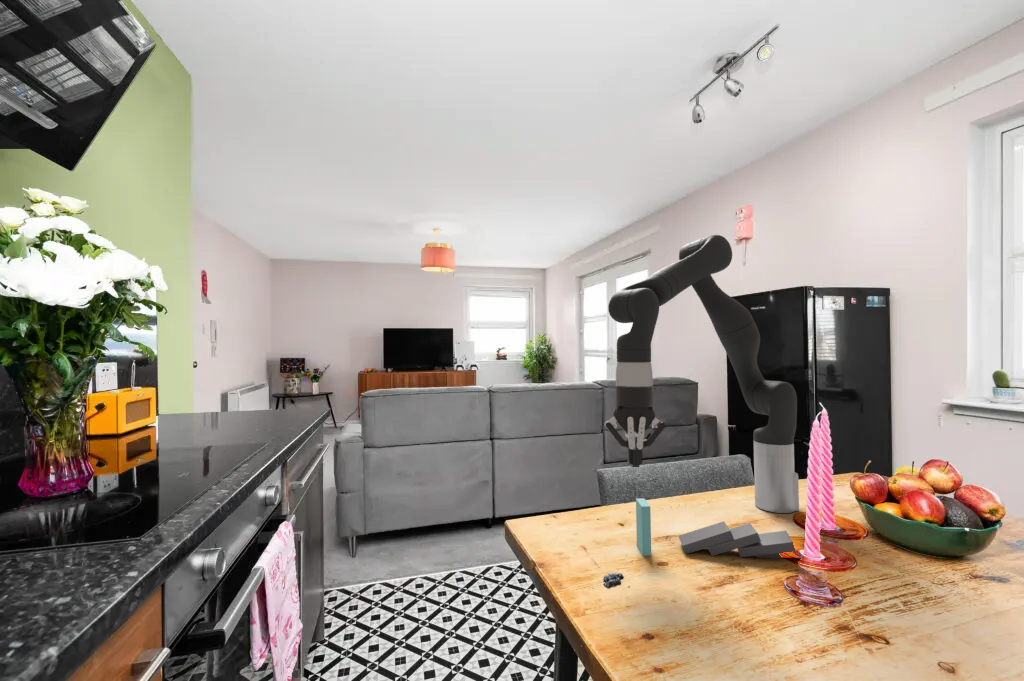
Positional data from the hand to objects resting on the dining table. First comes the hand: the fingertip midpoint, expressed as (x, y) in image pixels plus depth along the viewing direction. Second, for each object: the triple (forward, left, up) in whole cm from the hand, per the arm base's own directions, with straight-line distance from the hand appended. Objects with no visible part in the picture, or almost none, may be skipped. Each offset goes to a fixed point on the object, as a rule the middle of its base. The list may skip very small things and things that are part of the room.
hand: (634, 466), depth 96 cm
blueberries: (+7, +13, -18) cm, 23 cm away
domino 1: (-10, -1, -17) cm, 19 cm away
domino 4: (-23, 0, -17) cm, 29 cm away
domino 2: (-15, 0, -17) cm, 22 cm away
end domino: (-2, 0, -18) cm, 18 cm away
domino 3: (-20, +1, -16) cm, 26 cm away
